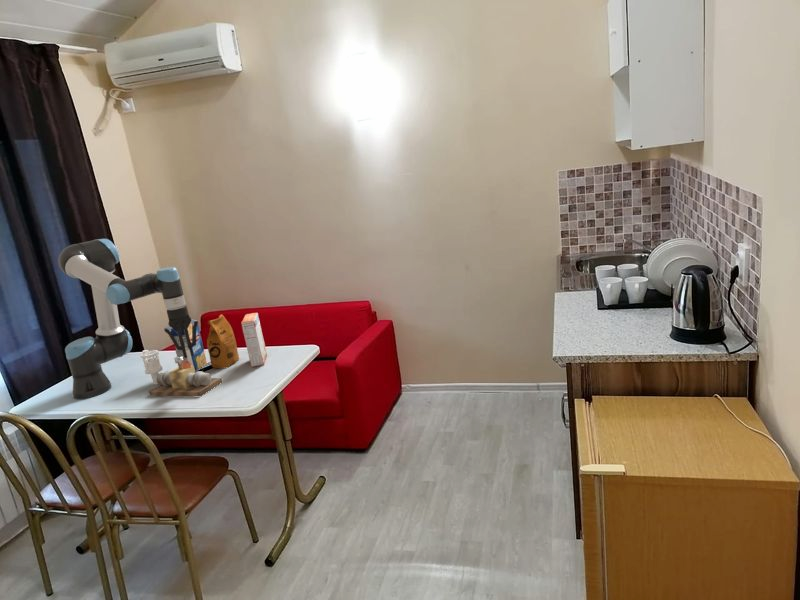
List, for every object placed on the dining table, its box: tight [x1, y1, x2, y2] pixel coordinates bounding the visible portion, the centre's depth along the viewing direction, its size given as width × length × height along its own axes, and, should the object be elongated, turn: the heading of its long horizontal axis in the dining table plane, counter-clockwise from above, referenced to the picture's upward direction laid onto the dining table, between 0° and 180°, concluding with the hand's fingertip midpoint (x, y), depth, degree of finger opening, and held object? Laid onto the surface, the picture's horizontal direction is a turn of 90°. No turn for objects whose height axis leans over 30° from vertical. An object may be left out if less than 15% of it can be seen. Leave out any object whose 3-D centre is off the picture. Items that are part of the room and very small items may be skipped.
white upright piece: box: [140, 349, 164, 385], centre depth 256 cm, size 7×7×15 cm
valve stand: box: [148, 363, 223, 397], centre depth 243 cm, size 26×14×12 cm, turn 69°
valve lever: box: [174, 356, 191, 369], centre depth 237 cm, size 14×3×2 cm, turn 35°
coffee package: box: [206, 314, 240, 369], centre depth 268 cm, size 10×12×22 cm
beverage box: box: [170, 323, 208, 373], centre depth 264 cm, size 7×11×22 cm, turn 170°
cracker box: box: [240, 312, 268, 368], centre depth 264 cm, size 14×6×21 cm, turn 6°
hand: (190, 364), depth 235 cm, fingers closed
